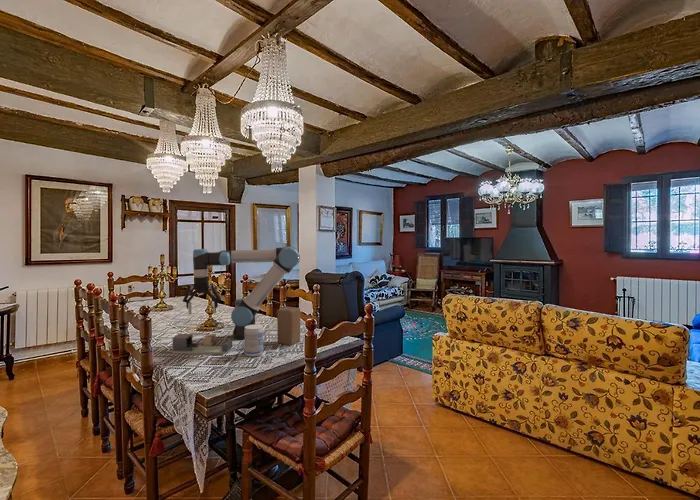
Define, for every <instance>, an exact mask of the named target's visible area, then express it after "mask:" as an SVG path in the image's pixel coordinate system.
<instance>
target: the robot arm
mask: <svg viewBox="0 0 700 500" xmlns="http://www.w3.org/2000/svg"><path fill="white" fill-rule="evenodd" d="M300 257H301V256H300V253H299V251H298V250H297V249H296V248H295V247H293V246H290V245H289V246H288V245H287V246H284V247H282V246H281V247H275V248H274V249H248V250H247V249H246V250H220V251H216V252H215V251H214V252H208V249H207V248H199V249H198V248H197V249H194V250H193V251H192V260H193V262H192V263H193V266H192V267H193V285H192V284H189V285H188V286H187V290H186V292H185V295H184V297H183V299H182V302H183V303H186V309H188V310H187V311H188V315H192V313H193V312H192V311H193V310H192V302H191V301H192V299H194V297H195V296H196V294H207V295H208V296H209V298H210V299H211V300H212V301H213V302H212V308H213V315H215V314H217V308H218V306H219V304H218V303H219V302H220V301H221V300H222V299H221V297H220V294H219V292H218V291H217V289H216V286H215V284H209V267H210V266H216V267H217V266H229V265H230V264H236V263H238V264H241V263H244V264H245V263H247V264H249V263H273V264H272V266H271V267H269V269H268V271H267V272H266V273H265V274H264V275H263V277H262V278H261V279H260V280H259V282H258V283H257V284H256V286H255V287H254V288H253V289H252V291H251V292H250V293H249V294H248V296H247V297H242V298H237V299H235V302H234V304H235V306H234V308H233V309H232V311H231V316H230V318H231V321H232V322H233V324H234V328H233V331H232V338H234V339H236V340H244V329H245V326H248V325H257V324H256V315H257V313H258V312H259V311H260V306H261V305H262V303H263V302H264V301H265V299H266V298H267V297H268V296H269V294H270V293H271V292H272V290H273V289H274V288H275V287H276V286H277V284H278V283H279V282H280V281H281V280H282V278H283V277H284V276H285V275H286V274H290V272H291V271H292V270H293V269H295V268H294V267H296V266H297V265H299V262H300V259H301V258H300ZM192 289H193V290H194V291H193V293H192V294H191V295H190V293H191V292H192ZM211 291H212V292H211Z"/></svg>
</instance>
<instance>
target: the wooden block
mask: <svg viewBox="0 0 700 500" xmlns="http://www.w3.org/2000/svg"><path fill="white" fill-rule="evenodd" d="M276 311H277V312H276V313H277V320H276V321H277V322H276V323H277V327H276V329H277V331H276V332H277V334H276V335H277V337H276V339H277V343H278V344H279V345H280V344H281V345H287V346H293V345H295V344H297V343H299V342H300V341H301V308H300V307H293V306H285V307H282V308H278V309H277V310H276Z"/></svg>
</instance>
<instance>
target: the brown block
mask: <svg viewBox="0 0 700 500" xmlns="http://www.w3.org/2000/svg"><path fill="white" fill-rule="evenodd" d="M216 336H217V334H216V333H215V334H207V335H206V336H204V337H203V338H202V346H214V345H215V344H216V343H217V337H216Z"/></svg>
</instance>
